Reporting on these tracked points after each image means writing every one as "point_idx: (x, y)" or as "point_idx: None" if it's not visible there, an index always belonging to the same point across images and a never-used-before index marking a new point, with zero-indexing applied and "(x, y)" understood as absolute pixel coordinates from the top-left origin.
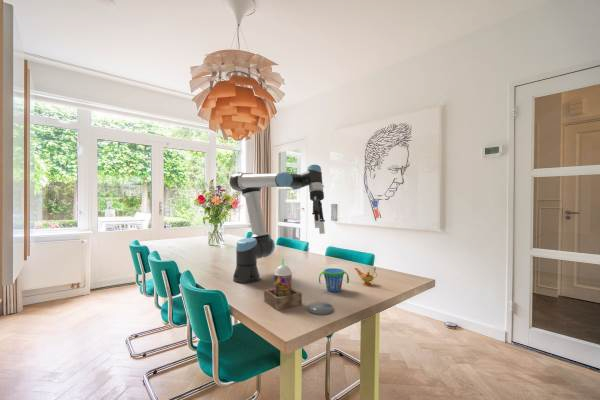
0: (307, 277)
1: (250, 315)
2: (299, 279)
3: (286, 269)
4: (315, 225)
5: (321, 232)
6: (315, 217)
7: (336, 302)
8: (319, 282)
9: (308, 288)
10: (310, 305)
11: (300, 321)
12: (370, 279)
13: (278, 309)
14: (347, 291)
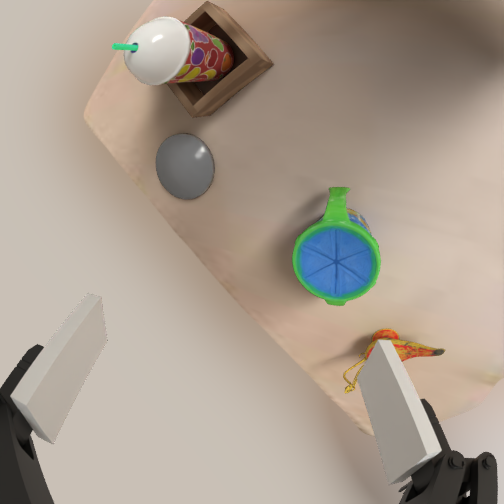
0: (499, 164)
1: (143, 18)
2: (477, 124)
3: (128, 69)
4: (77, 312)
5: (373, 362)
6: (18, 367)
7: (235, 215)
8: (335, 187)
9: (364, 141)
10: (187, 142)
11: (129, 125)
12: (365, 355)
13: None
14: None
